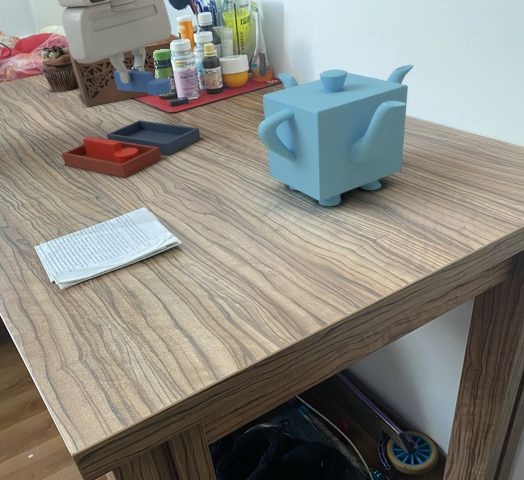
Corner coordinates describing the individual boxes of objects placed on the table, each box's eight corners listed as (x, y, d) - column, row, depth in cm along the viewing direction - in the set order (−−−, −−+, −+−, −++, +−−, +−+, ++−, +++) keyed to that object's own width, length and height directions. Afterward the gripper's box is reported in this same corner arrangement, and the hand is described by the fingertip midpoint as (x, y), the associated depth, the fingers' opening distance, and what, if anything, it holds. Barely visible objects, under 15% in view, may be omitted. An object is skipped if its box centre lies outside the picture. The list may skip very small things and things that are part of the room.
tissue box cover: (177, 75, 138) (169, 32, 131) (191, 86, 127) (183, 39, 121) (81, 94, 132) (67, 50, 125) (87, 106, 121) (73, 59, 115)
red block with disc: (82, 158, 91) (76, 141, 89) (99, 151, 94) (94, 134, 92) (128, 168, 85) (123, 149, 83) (145, 159, 88) (141, 141, 86)
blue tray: (109, 145, 97) (106, 134, 96) (141, 130, 102) (139, 120, 101) (168, 155, 90) (166, 143, 88) (200, 139, 95) (199, 128, 93)
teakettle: (258, 214, 68) (245, 95, 59) (283, 161, 82) (276, 58, 72) (404, 215, 64) (415, 87, 55) (405, 159, 78) (414, 49, 68)
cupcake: (91, 83, 141) (79, 41, 134) (68, 93, 134) (54, 49, 128) (65, 83, 144) (52, 42, 138) (41, 92, 138) (26, 50, 132)
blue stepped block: (112, 92, 92) (107, 73, 90) (128, 86, 94) (124, 67, 92) (160, 96, 86) (156, 76, 84) (176, 89, 88) (172, 70, 86)
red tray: (65, 164, 91) (61, 153, 90) (102, 148, 96) (99, 137, 95) (125, 177, 83) (121, 165, 82) (161, 159, 89) (159, 147, 87)
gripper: (143, -24, 89) (161, 64, 98) (46, -5, 77) (77, 94, 86) (169, -26, 86) (186, 66, 95) (73, -6, 74) (102, 97, 83)
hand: (133, 80), depth 90 cm, fingers closed on blue stepped block
